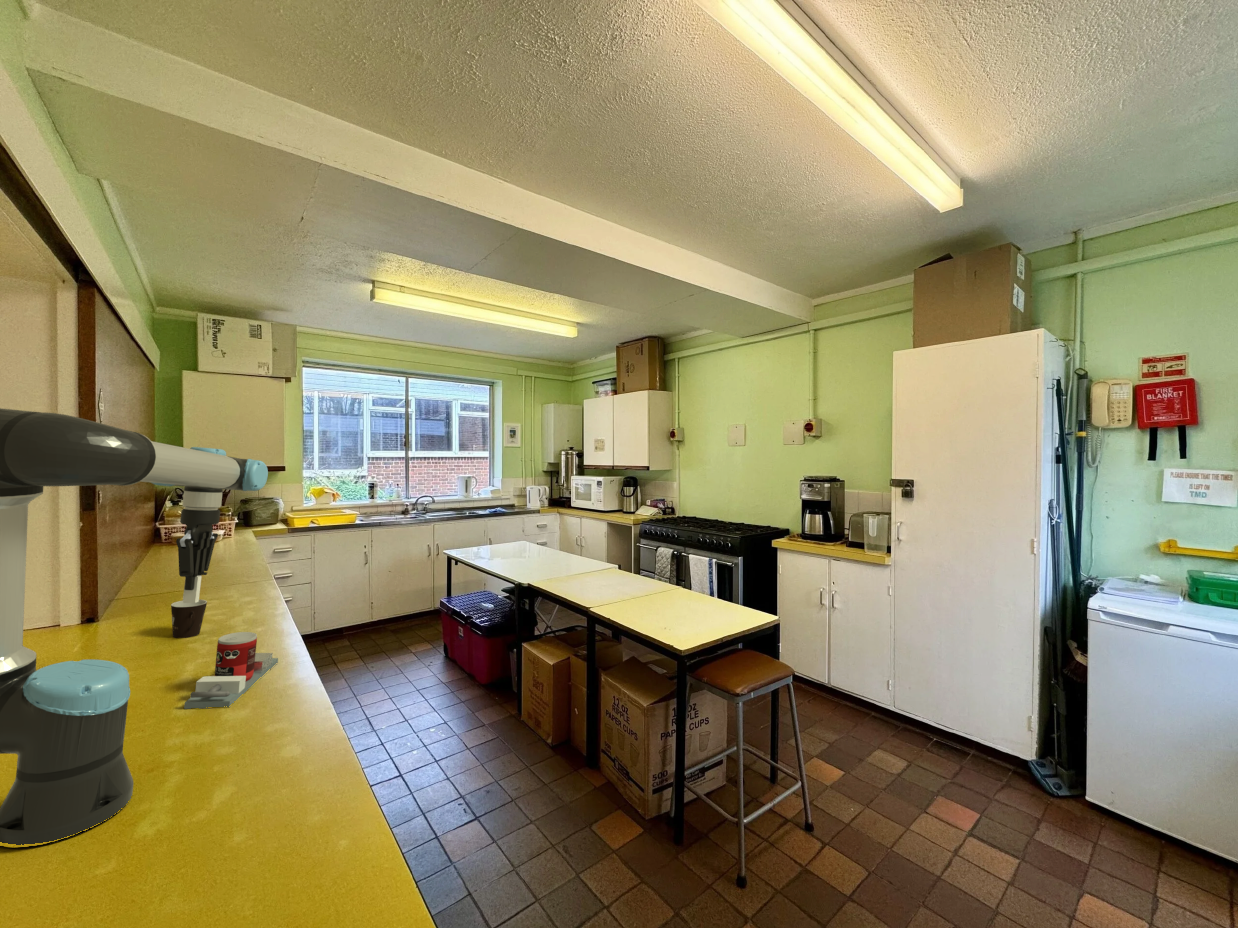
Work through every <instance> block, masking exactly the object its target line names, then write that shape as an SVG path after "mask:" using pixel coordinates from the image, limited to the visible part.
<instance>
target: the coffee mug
mask: <svg viewBox="0 0 1238 928" xmlns="http://www.w3.org/2000/svg"><path fill="white" fill-rule="evenodd" d="M182 602H183V600H179V601H175V602H173V603H171V604H170V607H171V608H170V609H171V611H170V612H171V624H172V625H171V626H172V637H173V638H174V639H187V638H193V637H194V638H195V637H197V636H199V635H200V632H201V629H202V624H203V620H204V617H205V611H206V608H207V604H208V601H207V600H206V599H199V602H196V603H182Z"/></svg>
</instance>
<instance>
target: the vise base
mask: <svg viewBox="0 0 1238 928" xmlns="http://www.w3.org/2000/svg"><path fill="white" fill-rule="evenodd" d="M276 663H279V657H272V664H271V665H270V666H268V667H267V668H266V669H265V670H264V671H263V672H262V673H253V676H252V678H251V679H250V680H248V681H246V676H215V675H211V676H210V675H207V676H202V677H201V678H199V679H198V680H197V681H196V682H195V683H196V684H195V691H192V692H190V695H189V697H190V698H188V699H187V700H186V701H184V704H183V705H184V706H183V709H184V710H191V708H199V709H209V708H208V707H224V706H225V707H226V706H227V707H229V706H230V705H231V704H232V703H234V701H236V700H237V699H238V698H239V697H240V696H241V695H242V694H244V693H245V692H246V691H247V690H248V689H249V688H250V687H251V686H252V685H253V684H254V683H255V682H256V681H257V680H258V679H259V678H260V677H262V676H263V675H264V674H265V673H266V672H267V671H268V670H269V669H271V668H272V667H273V666H274V665H275V664H276ZM276 665H277V664H276ZM276 665H275V666H276ZM275 666H274V667H275ZM274 667H273V668H274ZM273 668H272V669H273ZM272 669H271V670H272ZM264 676H265V675H264ZM264 676H263V677H264ZM263 677H262V678H263ZM245 681H246V682H245ZM253 686H254V685H253ZM253 686H252V687H253ZM252 687H251V688H252ZM251 688H250V689H251ZM250 689H249V690H250ZM249 690H248V691H249ZM248 691H247V692H248ZM247 692H246V693H247ZM246 693H245V694H246ZM245 694H244V695H245ZM241 697H242V696H241ZM241 697H240V698H241ZM240 698H239V699H240ZM239 699H238V700H239ZM238 700H237V701H238ZM237 701H236V702H237ZM234 704H235V703H234ZM206 707H207V708H206ZM230 707H231V706H230ZM230 707H229V708H230Z"/></svg>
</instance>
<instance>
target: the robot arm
mask: <svg viewBox="0 0 1238 928" xmlns="http://www.w3.org/2000/svg"><path fill="white" fill-rule="evenodd" d="M268 470H269V469H268V467H267V465H266V463H265V462H264V461H262V460H258V459H252V458H240V457H239V458H238V457H234V456H227V451H225V449H222V448H214V447H213V448H212V447H198V446H191V447H190V448H187V447H182V446H178V445H173V444H168V443H162V442H157V441H152V440H151V439H150V438H149V437H147V435H144V434H142V433H140V432H136V431H132V430H128V429H123V428H120V427H117V426H116V427H115V426H111V425H107V424H105V423H102V422H98V421H93V420H89V419H85V418H82V417H77V416H73V415H68V414H63V413H56V412H42V411H32V410H31V411H30V410H22V409H21V410H19V409H12V408H11V409H10V408H1V407H0V754H3V755H4V754H8V755H9V754H10V755H11V754H13V755H14V754H16V755H17V761H16V773H15V779H14V781H13V783H12V785H11V786H10V789H9V791H8V793H7V795H6V796H5V799H4V801H3V802H2V804H1V805H0V842H2V843H8V844H16V845H21V844H22V845H24V844H35V843H43V842H49V841H54V840H57V839H61V838H64V837H67V836H70V835H73V834H76V833H78V832H80V831H83V830H85V829H88V828H90V827H92V826H94V825H96V824H98V823H101V822H103V821H104V820H106V819H108V818H110V817H111V816H113V815H114V814H115V813H117V812H118V811H119V810H121V808H123V807H124V806H125V805H126V804H127V803H128V801H129V800H130V799H132V798H131V796H132V797H133V791H134V779H133V776H132V773H131V770H130V768H129V766H128V764H127V760H126V757H125V755H124V751H123V750H124V742H125V733H126V732H125V731H126V723H127V722H126V721H127V715H128V714H127V713H128V705H129V699H130V697H131V689H130V674H129V671H128V669H127V668H126V667H125V666H123V665H122V664H120V663H117V662H115V661H111V660H110V661H109V660H103V659H81V660H79V661H78V660H77V661H74V660H68V661H67V660H66V661H61V662H55V663H53V664H49V665H47V666H43V667H40V668H39V669H37V652H36V651H34V650H32V649H31V648H28V647H26V646H24V645H23V644H24V643H23V642H24V641H23V640H24V621H25V593H26V591H25V590H26V571H27V569H26V567H27V564H26V563H27V549H28V548H27V543H28V542H27V541H28V518H29V505H30V503H31V502H33V500H35V499H37V498H39V497H40V496H42V495H43V494H44V487H78V486H81V487H82V486H108V485H109V486H121V487H122V486H132V485H135V484H137V483H140V482H143V483H151V484H152V485H156V486H163V487H175V486H176V487H177V486H178V487H184V488H183V490H184V491H183V494H182V496H181V497H182V498H183V499H182V507H184V508H182V509H181V511H180V512H181V513H180V524H182V525H185V529H184V532H183V534H184V535H183V536H182V538H179V537H178V538H176V541H175V543H176V546H177V552H178V555H177V556H178V574H179V576H180V577H183V578H185V579H184V588H183V593H182V601H183V602H182V603H196V602H199V600H200V593H201V584H202V576H207V574H208V571H209V568H210V564H211V560H212V555H213V551H214V548H215V543H216V541H217V540H218V537H219V533H218V532H217V533H216V532H213V529H214V528H213V525H218V524H219V523H220V519H221V518H220V516H221V510H220V508H221V507H222V504H223V502H222V499H223V490H229V491H230V490H233V491H243V492H257V491H260V490H261V489H263V488H264V487H265V485H266V483H267V480H268V475H269V471H268ZM130 801H131V800H130ZM130 801H129V802H130ZM128 804H129V803H128ZM128 804H127V805H128ZM127 805H126V806H127ZM126 806H125V807H126ZM125 807H124V808H125ZM124 808H123V809H124ZM121 811H122V810H121ZM117 814H118V813H117ZM113 817H114V816H113ZM110 819H111V818H110ZM108 820H109V819H108ZM103 823H104V822H103Z"/></svg>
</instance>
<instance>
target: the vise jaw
mask: <svg viewBox="0 0 1238 928" xmlns="http://www.w3.org/2000/svg"><path fill="white" fill-rule="evenodd" d="M272 658H273V652H256V654H255V663H254V673H262V672H263V671H264V670H265V669H266V668H267V667H268V666H270V665H271V664H272Z"/></svg>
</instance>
